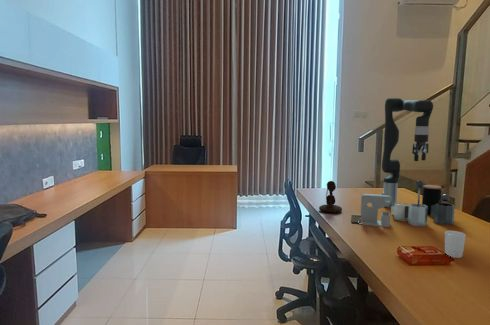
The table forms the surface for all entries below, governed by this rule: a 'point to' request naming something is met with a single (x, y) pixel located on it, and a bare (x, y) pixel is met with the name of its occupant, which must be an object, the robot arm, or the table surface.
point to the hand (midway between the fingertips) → (419, 160)
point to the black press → (443, 211)
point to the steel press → (416, 214)
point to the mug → (399, 211)
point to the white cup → (454, 243)
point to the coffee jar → (431, 196)
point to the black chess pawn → (330, 200)
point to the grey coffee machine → (374, 210)
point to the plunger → (419, 185)
